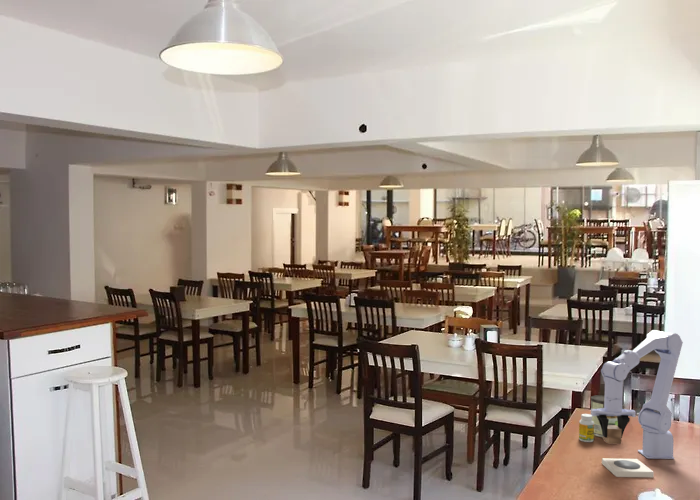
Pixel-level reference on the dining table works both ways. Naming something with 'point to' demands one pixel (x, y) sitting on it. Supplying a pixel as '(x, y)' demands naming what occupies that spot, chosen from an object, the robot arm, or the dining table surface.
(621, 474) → the base board
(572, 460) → the dining table surface
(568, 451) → the dining table surface
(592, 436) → the supplement bottle
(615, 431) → the walnut block
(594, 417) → the coffee can
